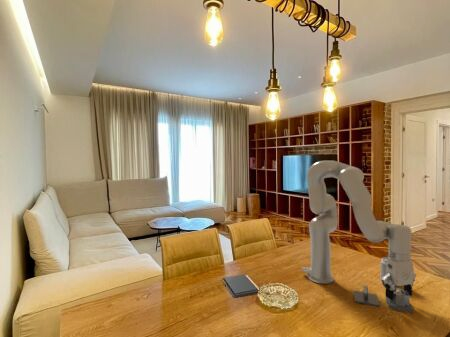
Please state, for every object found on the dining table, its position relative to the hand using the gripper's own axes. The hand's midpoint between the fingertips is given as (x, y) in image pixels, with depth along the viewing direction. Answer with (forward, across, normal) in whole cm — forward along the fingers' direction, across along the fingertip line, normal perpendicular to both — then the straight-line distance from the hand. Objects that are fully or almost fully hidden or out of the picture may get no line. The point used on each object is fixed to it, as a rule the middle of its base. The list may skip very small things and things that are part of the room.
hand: (398, 296), depth 104 cm
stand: (+4, -9, +8) cm, 13 cm away
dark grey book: (+5, -56, +35) cm, 67 cm away
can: (+4, +13, +15) cm, 20 cm away
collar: (+2, 0, 0) cm, 2 cm away
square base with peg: (+4, 0, 0) cm, 4 cm away
